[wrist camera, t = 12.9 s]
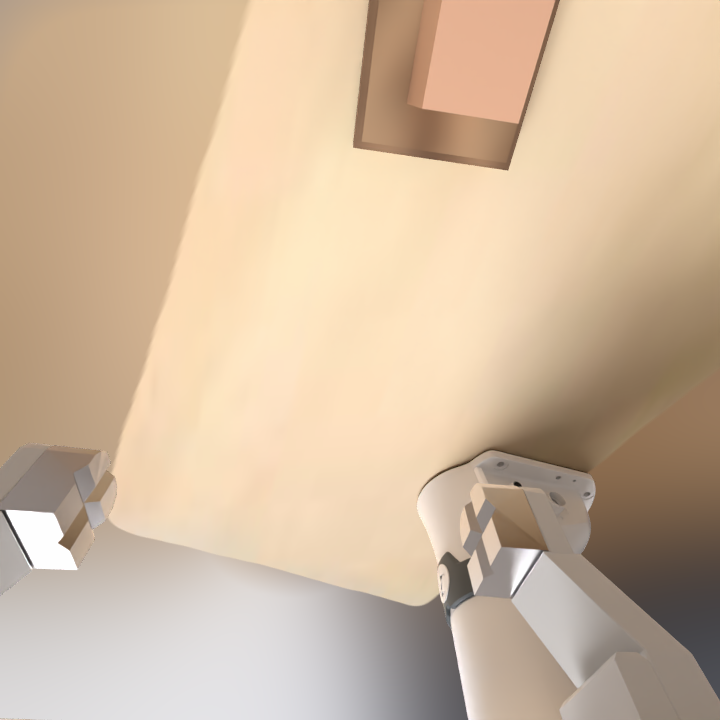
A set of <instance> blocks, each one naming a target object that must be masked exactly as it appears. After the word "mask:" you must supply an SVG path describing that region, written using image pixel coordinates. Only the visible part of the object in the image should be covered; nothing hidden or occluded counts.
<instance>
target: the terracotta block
mask: <svg viewBox="0 0 720 720" xmlns="http://www.w3.org/2000/svg"><path fill="white" fill-rule="evenodd" d="M554 3H555V0H425V1H424V3H423V9H422V15H421V21H420V27H419V33H418V39H417V45H416V51H415V57H414V63H413V69H412V75H411V81H410V87H409V93H408V99H407V104H409V105H413V106H416V107H419V108H422V109H428V110H434V111H440V112H447V113H453V114H460V115H466V116H472V117H479V118H485V119H491V120H498V121H504V122H510V123H517V124H519V120H520V117H521V113H522V110H523V107H524V103H525V100H526V97H527V93H528V90H529V87H530V83H531V80H532V77H533V73H534V70H535V67H536V63H537V60H538V57H539V53H540V50H541V47H542V43H543V40H544V37H545V33H546V30H547V27H548V23H549V20H550V17H551V13H552V10H553V7H554Z"/></svg>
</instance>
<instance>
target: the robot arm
mask: <svg viewBox="0 0 720 720" xmlns="http://www.w3.org/2000/svg"><path fill="white" fill-rule="evenodd" d="M110 464H111V461H110V458H109V455H108V452H105V451H100V450H91V449H83V448H74V447H65V446H56V445H45V444H35V443H28V444H26V445H24V446H22V447H20V448H19V449H18V450H17V451H16V452H15V453H14V454H13V455H12V456H11V457H10V458H9V460H8V461H6V463H5V464H4V465H3V466H2V467H1V468H0V596H1V595H2V594H3V593H5V592H6V591H7V590H9V588H11V587H12V586H14V585H15V584H16V583H17V582H19V581H20V580H21V579H22V578H23V577H25V576H26V575H27V574H29V573H30V572H31V571H32V569H31V568H41V569H68V570H77V569H78V568H79V566H80V564H81V563H82V561H83V559H84V557H85V556H86V554H87V552H88V551H89V549H90V547H91V545H92V544H93V542H94V540H95V538H94V534H93V529H94V528H95V527H97V526H99V525H100V524H101V523H103V522H104V521H106V519H107V517H108V516H109V514H110V512H111V510H112V508H113V505H114V502H115V498H116V495H117V484H116V480H115V477H114V476H113V475H112V474H111V473H110V472H108V471H107V468H108V467H109V465H110ZM595 490H596V489H595V483H594V480H593V478H592V476H591V475H590V474H587V473H584V472H580V471H576V470H572V469H568V468H564V467H560V466H556V465H552V464H548V463H544V462H539V461H535V460H531V459H527V458H523V457H519V456H515V455H511V454H507V453H503V452H499V451H494V450H491V451H487V452H484V453H483V454H481V455H479V456H478V457H476V458H475V459H474V460H472V461H471V462H469V463H467V464H465V465H462V466H459V467H456V468H453V469H451V470H448V471H446V472H444V473H442V474H440V475H438V476H437V477H435V478H434V479H433V480H431V481H430V482H429V483H428V484H427V485H426V486H425V487H424V488H423V490H422V491H421V493H420V495H419V497H418V501H417V511H418V514H419V516H420V518H421V520H422V522H423V524H424V526H425V528H426V530H427V533H428V535H429V538H430V541H431V544H432V546H433V550H434V553H435V556H436V559H437V563H438V584H439V591H440V596H441V601H442V603H443V607H444V612H445V616H446V621H447V623H448V625H449V627H450V628H451V629H452V633H453V639H454V643H455V649H456V654H457V660H458V666H459V671H460V677H461V682H462V687H463V693H464V698H465V704H466V709H467V715H468V719H469V720H720V701H719V699H718V697H717V696H716V694H715V693H714V691H713V689H712V687H711V686H710V684H709V682H708V681H707V679H706V677H705V676H704V674H703V672H702V670H701V669H700V668H699V665H698V664H697V662H696V660H695V659H694V657H693V655H692V654H691V653H690V652H689V651H688V650H687V649H685V647H683V646H682V645H681V644H680V643H679V642H678V641H677V640H676V639H674V638H673V637H672V636H671V635H670V634H669V633H668V632H667V631H666V630H664V629H663V628H662V627H661V626H660V625H659V624H658V623H657V622H655V621H654V620H653V619H652V618H651V617H650V616H649V615H648V614H647V613H645V612H644V611H643V610H642V609H641V608H640V607H639V606H638V605H637V604H635V603H634V602H633V601H632V600H631V599H630V598H629V597H628V596H627V595H625V594H624V593H623V592H622V591H621V590H620V589H619V588H618V587H616V586H615V585H614V584H613V583H612V582H611V581H610V580H609V579H607V578H606V577H605V576H604V575H603V574H602V573H601V572H600V571H599V570H597V569H596V568H595V567H594V566H593V565H592V564H591V563H590V562H589V561H587V560H586V559H585V558H584V557H583V556H582V555H581V553H582V551H583V550H584V548H585V546H586V544H587V542H588V540H589V536H590V530H591V526H590V520H589V516H588V510H589V508H590V507H591V505H592V502H593V500H594V497H595ZM0 720H30V719H0Z"/></svg>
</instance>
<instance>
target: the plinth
mask: <svg viewBox="0 0 720 720" xmlns="http://www.w3.org/2000/svg"><path fill="white" fill-rule="evenodd" d="M424 1H425V0H369V6H368V15H367V24H366V33H365V42H364V51H363V60H362V69H361V78H360V87H359V96H358V105H357V114H356V123H355V132H354V141H353V148H360V149H366V150H373V151H380V152H387V153H393V154H400V155H407V156H414V157H421V158H427V159H434V160H441V161H448V162H455V163H461V164H468V165H475V166H482V167H488V168H495V169H502V170H508V169H509V166H510V163H511V159H512V156H513V153H514V149H515V146H516V143H517V139H518V136H519V133H520V130H521V126H522V123H523V120H524V116H525V113H526V110H527V107H528V103H529V100H530V97H531V93H532V90H533V87H534V83H535V80H536V77H537V74H538V70H539V67H540V64H541V60H542V57H543V54H544V51H545V47H546V44H547V41H548V37H549V34H550V31H551V27H552V24H553V21H554V18H555V14H556V11H557V8H558V4H559V1H560V0H555V3H554V7H553V10H552V13H551V17H550V20H549V23H548V27H547V30H546V33H545V37H544V40H543V43H542V47H541V50H540V53H539V57H538V60H537V63H536V67H535V70H534V73H533V77H532V80H531V83H530V87H529V90H528V93H527V97H526V100H525V103H524V107H523V110H522V113H521V117H520V120H519V124H517V123H510V122H504V121H498V120H491V119H485V118H479V117H472V116H466V115H460V114H453V113H447V112H440V111H434V110H428V109H422V108H419V107H416V106H413V105H409V104H407V99H408V93H409V87H410V81H411V75H412V69H413V63H414V57H415V51H416V45H417V39H418V33H419V27H420V21H421V15H422V9H423V3H424Z"/></svg>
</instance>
